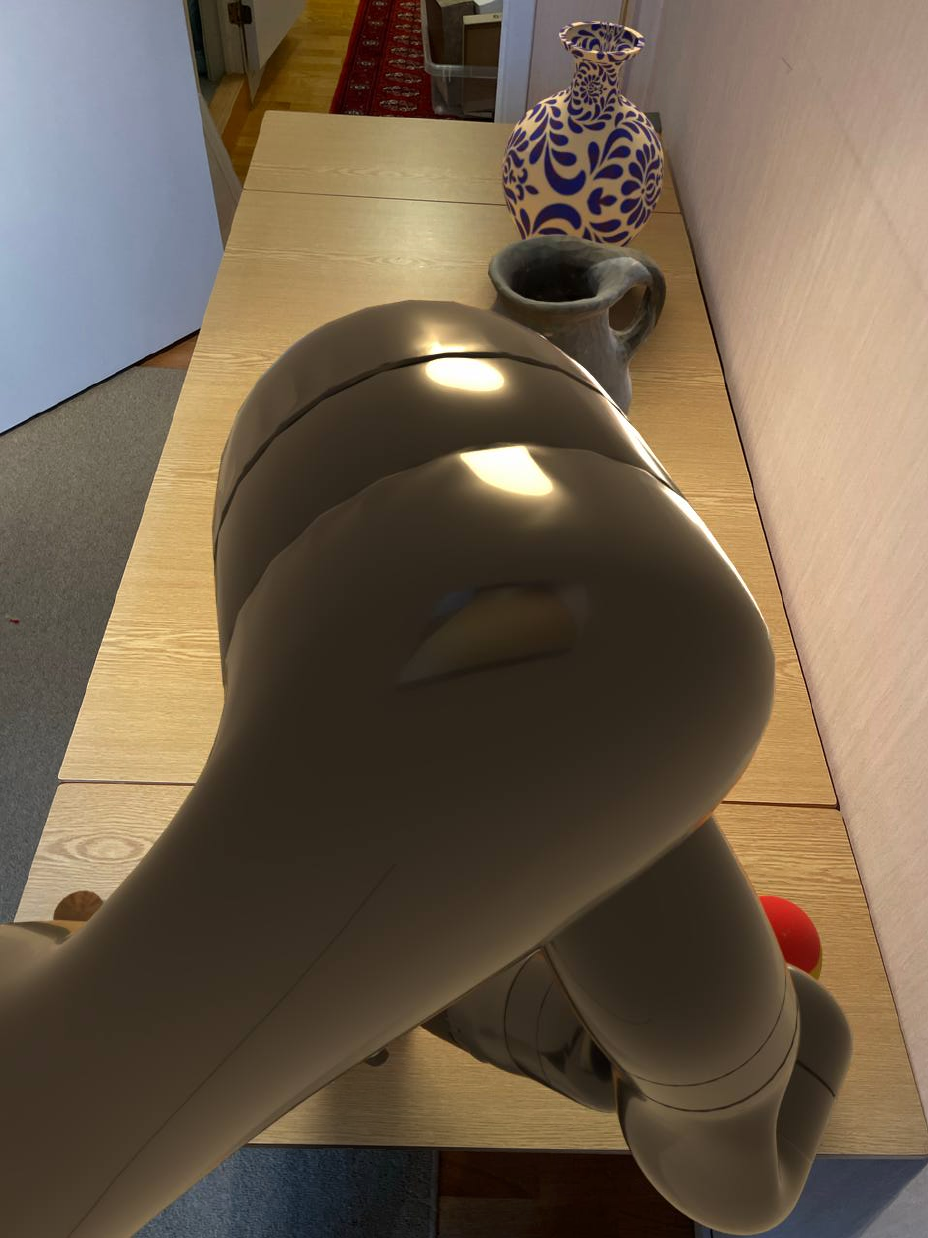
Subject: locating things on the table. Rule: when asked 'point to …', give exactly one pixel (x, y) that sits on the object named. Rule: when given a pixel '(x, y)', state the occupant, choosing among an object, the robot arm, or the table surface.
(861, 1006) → the table surface
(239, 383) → the table surface
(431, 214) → the table surface
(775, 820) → the table surface
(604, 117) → the vase
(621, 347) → the pitcher
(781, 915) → the striped foam ball
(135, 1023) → the robot arm
